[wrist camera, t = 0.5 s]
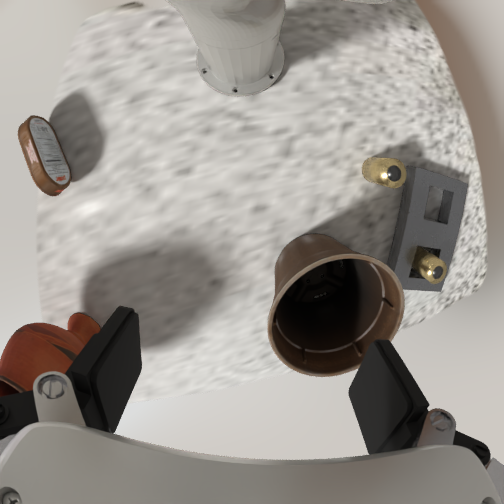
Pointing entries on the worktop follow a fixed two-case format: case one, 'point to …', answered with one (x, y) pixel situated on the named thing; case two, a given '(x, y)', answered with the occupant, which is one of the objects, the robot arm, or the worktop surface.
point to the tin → (44, 155)
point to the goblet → (42, 351)
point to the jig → (426, 231)
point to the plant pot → (331, 306)
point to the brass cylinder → (384, 171)
